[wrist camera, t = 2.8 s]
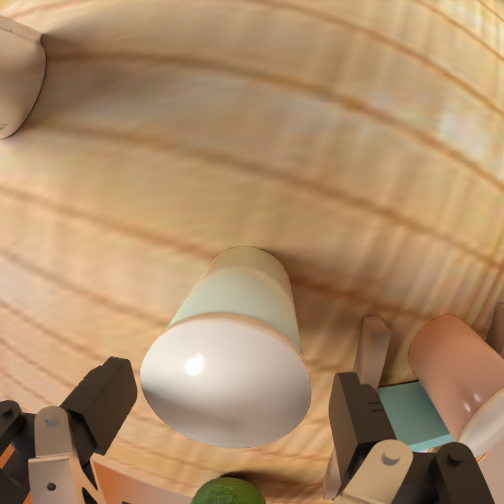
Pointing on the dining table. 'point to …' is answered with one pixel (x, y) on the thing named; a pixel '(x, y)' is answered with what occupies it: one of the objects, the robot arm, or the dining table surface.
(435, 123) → the dining table surface
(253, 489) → the fruit
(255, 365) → the sage jar
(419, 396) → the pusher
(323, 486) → the lane
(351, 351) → the dining table surface
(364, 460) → the robot arm
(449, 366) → the jar
